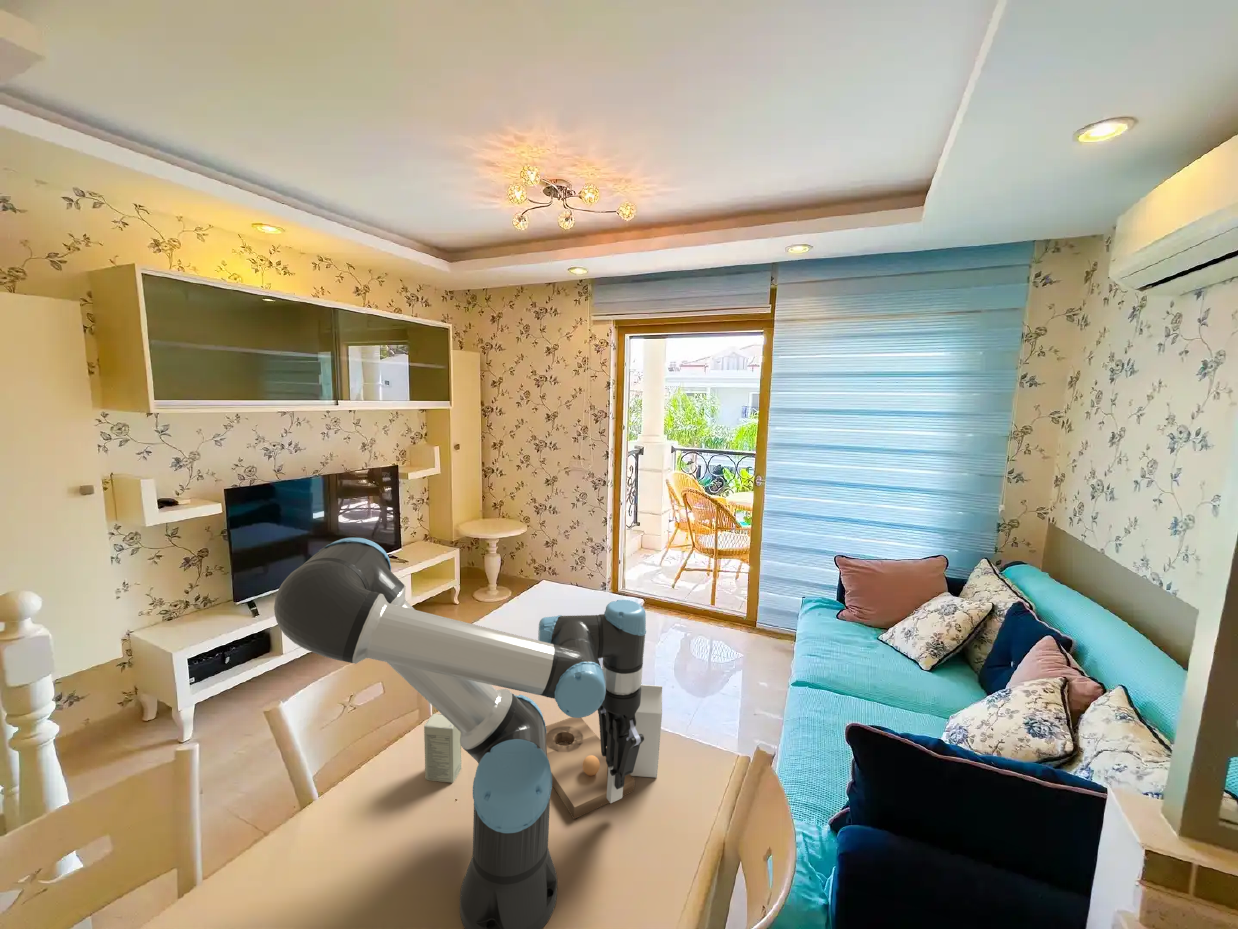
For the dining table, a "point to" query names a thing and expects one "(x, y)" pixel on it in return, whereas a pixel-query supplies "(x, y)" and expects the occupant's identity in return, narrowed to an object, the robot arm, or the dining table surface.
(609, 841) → the dining table surface
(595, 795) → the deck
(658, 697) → the milk carton
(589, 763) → the ball
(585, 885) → the dining table surface
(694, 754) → the dining table surface
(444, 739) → the skincare box
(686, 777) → the dining table surface
